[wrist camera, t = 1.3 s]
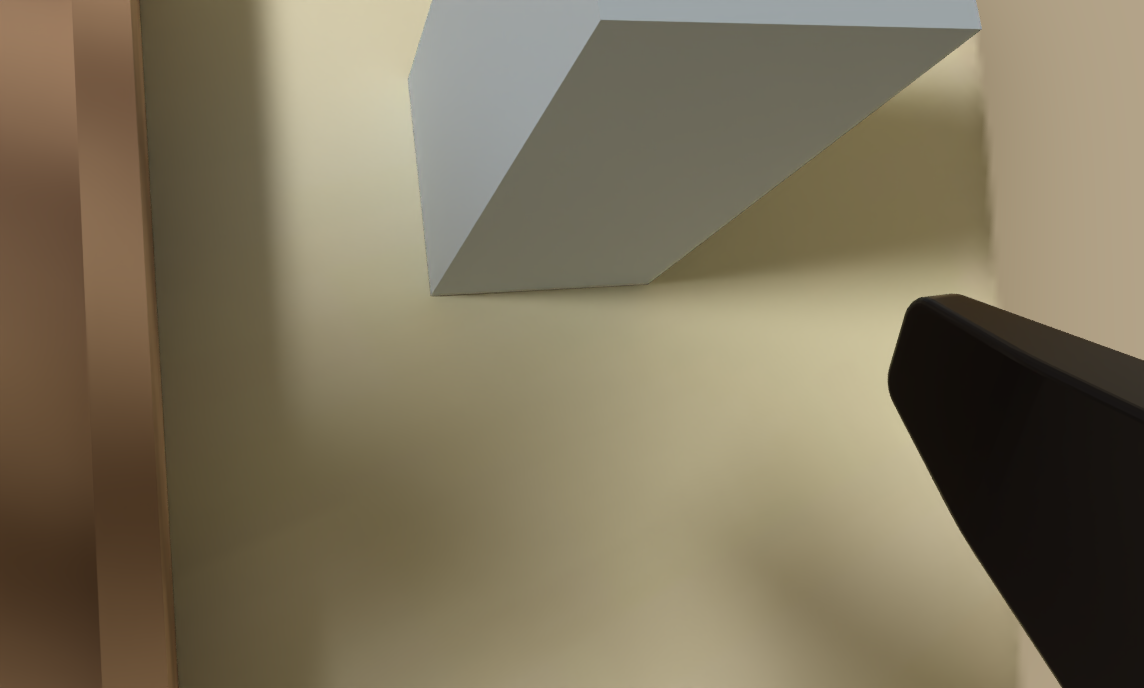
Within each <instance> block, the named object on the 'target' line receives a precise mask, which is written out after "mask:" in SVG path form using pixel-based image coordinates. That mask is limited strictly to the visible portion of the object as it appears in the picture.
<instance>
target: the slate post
mask: <svg viewBox="0 0 1144 688" xmlns="http://www.w3.org/2000/svg"><path fill="white" fill-rule="evenodd" d="M981 29H982V27H981V23H980V18H979V14H978V8H977V4H976V0H432V3H431V6H430V9H429V12H428V16H427V19H426V22H425V25H424V29H423V32H422V35H421V38H420V42H419V45H418V48H417V51H416V55H415V58H414V61H413V64H412V68H411V71H410V74H409V78H408V84H409V94H410V103H411V113H412V122H413V132H414V141H415V151H416V160H417V170H418V179H419V189H420V198H421V208H422V217H423V227H424V236H425V246H426V255H427V265H428V274H429V284H430V293H431V296H439V295H458V294H476V293H495V292H513V291H531V290H550V289H568V288H587V287H605V286H624V285H642V284H649V283H650V282H651V281H653V280H654V279H655V278H657V277H658V276H659V275H660V274H662V273H663V272H664V271H666V270H667V269H668V268H670V267H671V266H672V265H674V264H675V263H676V262H677V261H679V260H680V259H681V258H683V257H684V256H685V255H687V254H688V253H689V252H691V251H692V250H693V249H694V248H696V247H697V246H698V245H700V244H701V243H702V242H704V241H705V240H706V239H708V238H709V237H710V236H712V235H713V234H714V233H715V232H717V231H718V230H719V229H721V228H722V227H723V226H725V225H726V224H727V223H729V222H730V221H731V220H732V219H734V218H735V217H736V216H738V215H739V214H740V213H742V212H743V211H744V210H746V209H747V208H748V207H750V206H751V205H752V204H753V203H755V202H756V201H757V200H759V199H760V198H761V197H763V196H764V195H765V194H767V193H768V192H769V191H770V190H772V189H773V188H774V187H776V186H777V185H778V184H780V183H781V182H782V181H784V180H785V179H786V178H787V177H789V176H790V175H791V174H793V173H794V172H795V171H797V170H798V169H799V168H801V167H802V166H803V165H805V164H806V163H807V162H808V161H810V160H811V159H812V158H814V157H815V156H816V155H818V154H819V153H820V152H822V151H823V150H824V149H825V148H827V147H828V146H829V145H831V144H832V143H833V142H835V141H836V140H837V139H839V138H840V137H841V136H843V135H844V134H845V133H846V132H848V131H849V130H850V129H852V128H853V127H854V126H856V125H857V124H858V123H860V122H861V121H862V120H863V119H865V118H866V117H867V116H869V115H870V114H871V113H873V112H874V111H875V110H877V109H878V108H879V107H880V106H882V105H883V104H884V103H886V102H887V101H888V100H890V99H891V98H892V97H894V96H895V95H896V94H898V93H899V92H900V91H901V90H903V89H904V88H905V87H907V86H908V85H909V84H911V83H912V82H913V81H915V80H916V79H917V78H918V77H920V76H921V75H922V74H924V73H925V72H926V71H928V70H929V69H930V68H932V67H933V66H934V65H935V64H937V63H938V62H939V61H941V60H942V59H943V58H945V57H946V56H947V55H949V54H950V53H951V52H953V51H954V50H955V49H956V48H958V47H959V46H960V45H962V44H963V43H964V42H966V41H967V40H968V39H970V38H971V37H972V36H973V35H975V34H976V33H977V32H979V31H980V30H981Z"/></svg>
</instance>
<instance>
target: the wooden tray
mask: <svg viewBox="0 0 1144 688" xmlns="http://www.w3.org/2000/svg"><path fill="white" fill-rule="evenodd" d="M0 688H179V684H178V667H177V649H176V632H175V614H174V597H173V579H172V562H171V544H170V527H169V509H168V492H167V474H166V457H165V439H164V422H163V404H162V387H161V369H160V352H159V334H158V317H157V299H156V282H155V264H154V247H153V229H152V212H151V194H150V177H149V159H148V142H147V124H146V107H145V89H144V72H143V55H142V37H141V20H140V2H139V0H0Z"/></svg>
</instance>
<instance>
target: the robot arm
mask: <svg viewBox="0 0 1144 688" xmlns="http://www.w3.org/2000/svg"><path fill="white" fill-rule="evenodd" d="M888 389H889V393H890V396H891V399H892V401H893V403H894V405H895V407H896V409H897V411H898V413H899V415H900V417H901V419H902V421H903V423H904V425H905V427H906V429H907V430H908V432H909V434H910V436H911V438H912V440H913V442H914V444H915V446H916V448H917V450H918V452H919V454H920V456H921V457H922V459H923V461H924V463H925V465H926V467H927V469H928V471H929V473H930V475H931V477H932V479H933V481H934V483H935V485H936V486H937V488H938V490H939V492H940V494H941V496H942V498H943V500H944V502H945V504H946V506H947V508H948V510H949V511H950V513H951V515H952V517H953V519H954V521H955V522H956V524H957V526H958V528H959V530H960V531H961V533H962V535H963V536H964V538H965V540H966V541H967V543H968V544H969V546H970V548H971V549H972V551H973V553H974V554H975V556H976V557H977V559H978V560H979V562H980V563H981V565H982V566H983V568H984V569H985V571H986V572H987V574H988V576H989V577H990V579H991V580H992V582H993V583H994V585H995V586H996V588H997V589H998V591H999V592H1000V594H1001V595H1002V597H1003V598H1004V600H1005V601H1006V603H1007V605H1008V606H1009V608H1010V609H1011V611H1012V612H1013V614H1014V615H1015V617H1016V618H1017V620H1018V621H1019V623H1020V624H1021V626H1022V627H1023V629H1024V631H1025V632H1026V633H1027V635H1028V637H1029V638H1030V640H1031V641H1032V642H1033V644H1034V646H1035V647H1036V649H1037V650H1038V652H1039V653H1040V655H1041V657H1042V658H1043V660H1044V661H1045V663H1046V664H1047V666H1048V667H1049V669H1050V670H1051V672H1052V673H1053V675H1054V676H1055V678H1056V679H1057V681H1058V682H1059V684H1060V686H1061V687H1062V688H1144V360H1141V359H1138V358H1135V357H1133V356H1130V355H1127V354H1124V353H1121V352H1119V351H1115V350H1113V349H1110V348H1108V347H1105V346H1102V345H1099V344H1096V343H1094V342H1091V341H1088V340H1085V339H1083V338H1080V337H1077V336H1074V335H1071V334H1069V333H1066V332H1063V331H1060V330H1057V329H1055V328H1052V327H1049V326H1046V325H1043V324H1041V323H1038V322H1035V321H1033V320H1030V319H1027V318H1024V317H1021V316H1019V315H1016V314H1013V313H1010V312H1008V311H1005V310H1002V309H999V308H997V307H994V306H991V305H988V304H985V303H983V302H980V301H977V300H974V299H972V298H969V297H966V296H963V295H959V294H945V295H936V296H928V297H921V298H918V299H916V300H915V301H913V302H912V303H911V305H910V306H909V307H908V309H907V311H906V313H905V316H904V319H903V323H902V326H901V330H900V333H899V337H898V340H897V343H896V347H895V350H894V354H893V357H892V360H891V364H890V367H889V372H888Z"/></svg>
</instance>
